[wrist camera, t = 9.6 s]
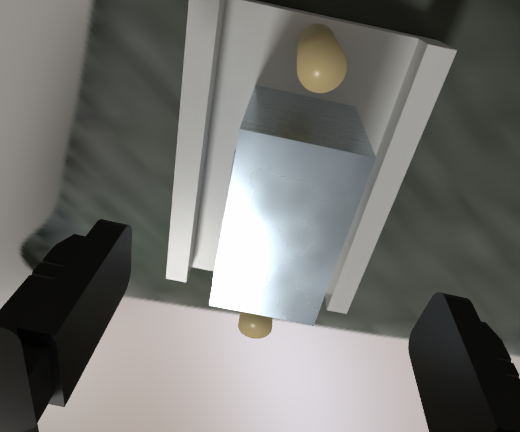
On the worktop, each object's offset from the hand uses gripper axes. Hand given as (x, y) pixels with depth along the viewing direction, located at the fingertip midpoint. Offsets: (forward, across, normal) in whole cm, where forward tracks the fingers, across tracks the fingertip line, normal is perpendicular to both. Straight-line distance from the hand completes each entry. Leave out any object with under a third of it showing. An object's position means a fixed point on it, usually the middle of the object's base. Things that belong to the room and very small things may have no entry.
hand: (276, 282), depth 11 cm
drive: (+8, 0, +1) cm, 8 cm away
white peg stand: (+9, 0, +1) cm, 9 cm away
